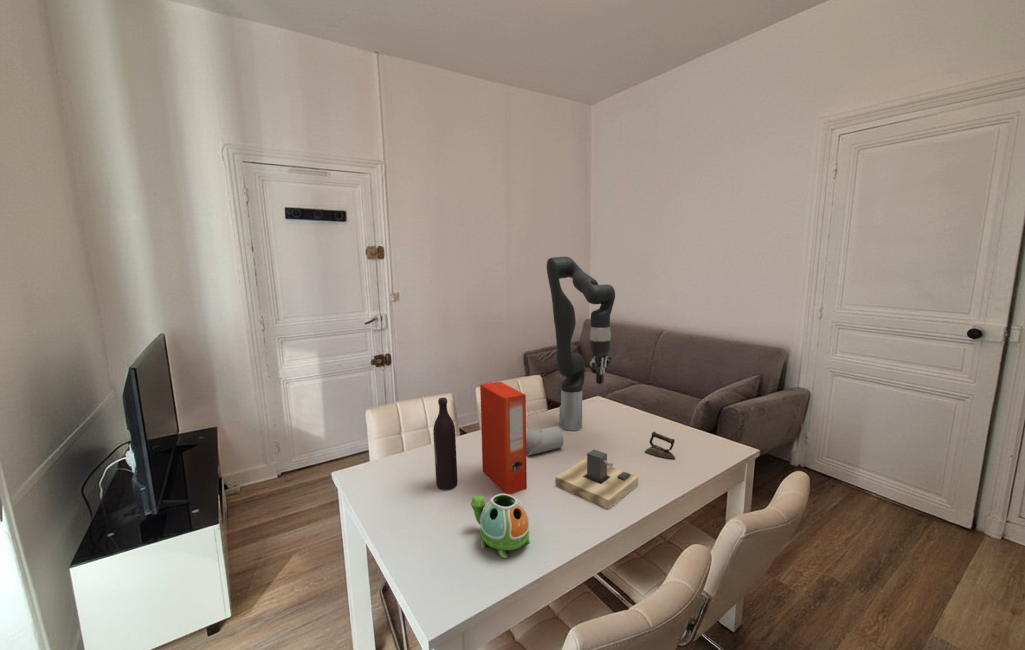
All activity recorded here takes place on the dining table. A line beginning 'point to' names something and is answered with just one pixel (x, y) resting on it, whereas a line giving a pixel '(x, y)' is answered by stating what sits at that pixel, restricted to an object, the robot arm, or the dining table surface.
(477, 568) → the dining table surface
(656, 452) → the clothes iron
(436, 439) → the wine bottle
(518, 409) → the file binder
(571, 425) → the robot arm
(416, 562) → the dining table surface
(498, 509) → the turtle holder
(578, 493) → the socket board
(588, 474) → the plug
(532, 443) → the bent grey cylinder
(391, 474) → the dining table surface
